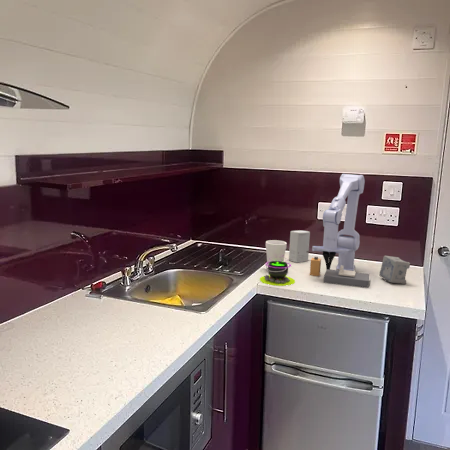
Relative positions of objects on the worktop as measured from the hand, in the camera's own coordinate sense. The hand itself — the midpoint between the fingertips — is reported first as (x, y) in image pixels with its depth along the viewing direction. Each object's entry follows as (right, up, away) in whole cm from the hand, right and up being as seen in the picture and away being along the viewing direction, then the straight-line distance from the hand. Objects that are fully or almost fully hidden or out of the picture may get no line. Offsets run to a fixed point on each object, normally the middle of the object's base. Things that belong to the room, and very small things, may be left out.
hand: (328, 268), depth 201 cm
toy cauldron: (-22, -5, -3) cm, 23 cm away
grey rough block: (+28, -6, +1) cm, 29 cm away
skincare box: (-8, +1, +30) cm, 31 cm away
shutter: (+8, -2, -2) cm, 8 cm away
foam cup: (-22, -2, +12) cm, 25 cm away
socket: (+7, -5, -2) cm, 9 cm away
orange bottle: (-4, -3, +7) cm, 9 cm away
